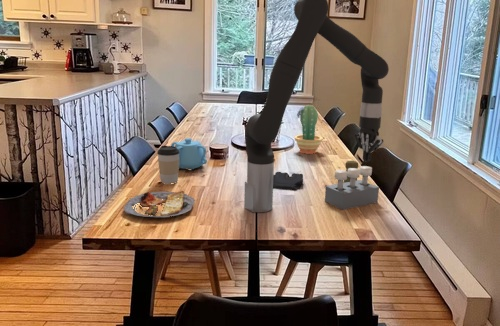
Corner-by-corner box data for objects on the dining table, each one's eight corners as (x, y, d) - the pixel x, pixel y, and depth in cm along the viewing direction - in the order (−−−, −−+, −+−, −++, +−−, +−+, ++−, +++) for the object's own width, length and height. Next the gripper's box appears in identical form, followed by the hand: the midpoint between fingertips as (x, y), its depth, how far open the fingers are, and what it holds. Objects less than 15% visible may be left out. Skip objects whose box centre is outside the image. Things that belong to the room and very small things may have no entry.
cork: (346, 183, 191) (348, 158, 188) (360, 186, 187) (362, 161, 184) (339, 187, 186) (341, 161, 183) (353, 190, 183) (355, 163, 180)
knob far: (363, 191, 168) (365, 169, 166) (355, 188, 172) (357, 167, 170) (372, 190, 170) (374, 168, 168) (364, 186, 174) (366, 165, 172)
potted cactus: (306, 147, 255) (308, 102, 248) (328, 152, 244) (331, 106, 237) (287, 151, 245) (289, 105, 238) (309, 156, 234) (312, 108, 227)
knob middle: (351, 194, 165) (353, 171, 163) (343, 190, 169) (345, 168, 167) (360, 192, 167) (362, 170, 165) (352, 189, 171) (354, 167, 169)
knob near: (338, 196, 162) (340, 174, 160) (330, 193, 166) (332, 170, 164) (348, 194, 164) (350, 172, 162) (340, 191, 168) (341, 169, 166)
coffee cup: (184, 182, 188) (184, 147, 185) (167, 186, 182) (165, 150, 178) (171, 177, 194) (170, 143, 190) (153, 181, 188) (152, 146, 184)
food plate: (137, 194, 172) (136, 186, 171) (198, 197, 171) (198, 188, 170) (116, 222, 148) (116, 212, 147) (187, 225, 147) (187, 215, 146)
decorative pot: (170, 163, 217) (169, 135, 214) (203, 161, 220) (203, 134, 217) (171, 172, 202) (170, 143, 198) (207, 171, 205) (207, 141, 202)
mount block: (342, 209, 161) (343, 193, 159) (324, 201, 169) (325, 186, 168) (377, 202, 169) (379, 187, 168) (358, 194, 177) (360, 179, 176)
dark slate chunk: (254, 177, 199) (254, 166, 198) (304, 181, 195) (305, 170, 194) (247, 187, 185) (247, 176, 183) (301, 192, 180) (301, 180, 179)
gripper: (350, 113, 167) (346, 158, 172) (376, 118, 156) (371, 166, 161) (365, 111, 171) (361, 156, 175) (391, 117, 160) (387, 164, 164)
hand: (366, 161), depth 168 cm, fingers closed
